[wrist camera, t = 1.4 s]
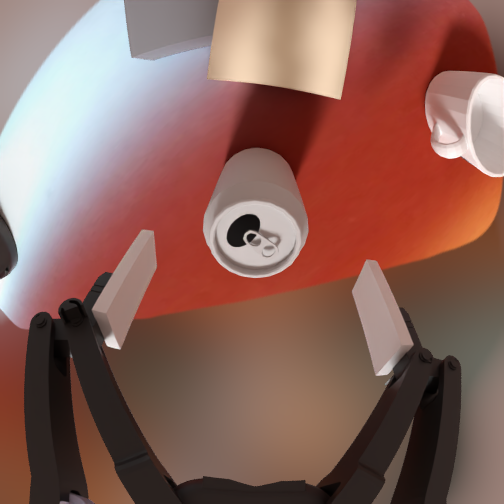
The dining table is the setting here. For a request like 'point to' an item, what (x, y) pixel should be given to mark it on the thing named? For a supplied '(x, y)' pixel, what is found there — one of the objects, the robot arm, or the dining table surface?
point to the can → (256, 215)
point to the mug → (468, 118)
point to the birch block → (283, 43)
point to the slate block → (169, 26)
